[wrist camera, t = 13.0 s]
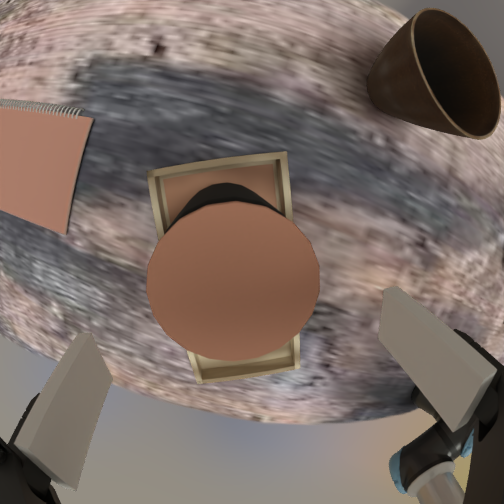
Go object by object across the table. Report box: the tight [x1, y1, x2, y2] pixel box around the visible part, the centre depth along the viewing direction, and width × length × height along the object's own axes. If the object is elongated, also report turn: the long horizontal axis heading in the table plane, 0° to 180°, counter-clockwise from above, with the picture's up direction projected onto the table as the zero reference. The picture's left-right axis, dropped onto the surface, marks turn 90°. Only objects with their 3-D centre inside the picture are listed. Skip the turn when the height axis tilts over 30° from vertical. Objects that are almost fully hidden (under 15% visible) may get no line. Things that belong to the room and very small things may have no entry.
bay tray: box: [147, 151, 300, 384], centre depth 35 cm, size 30×16×4 cm, turn 6°
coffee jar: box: [146, 182, 320, 361], centre depth 25 cm, size 11×11×18 cm
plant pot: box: [367, 8, 501, 140], centre depth 23 cm, size 15×15×16 cm
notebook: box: [0, 99, 94, 235], centre depth 27 cm, size 27×17×2 cm, turn 70°
